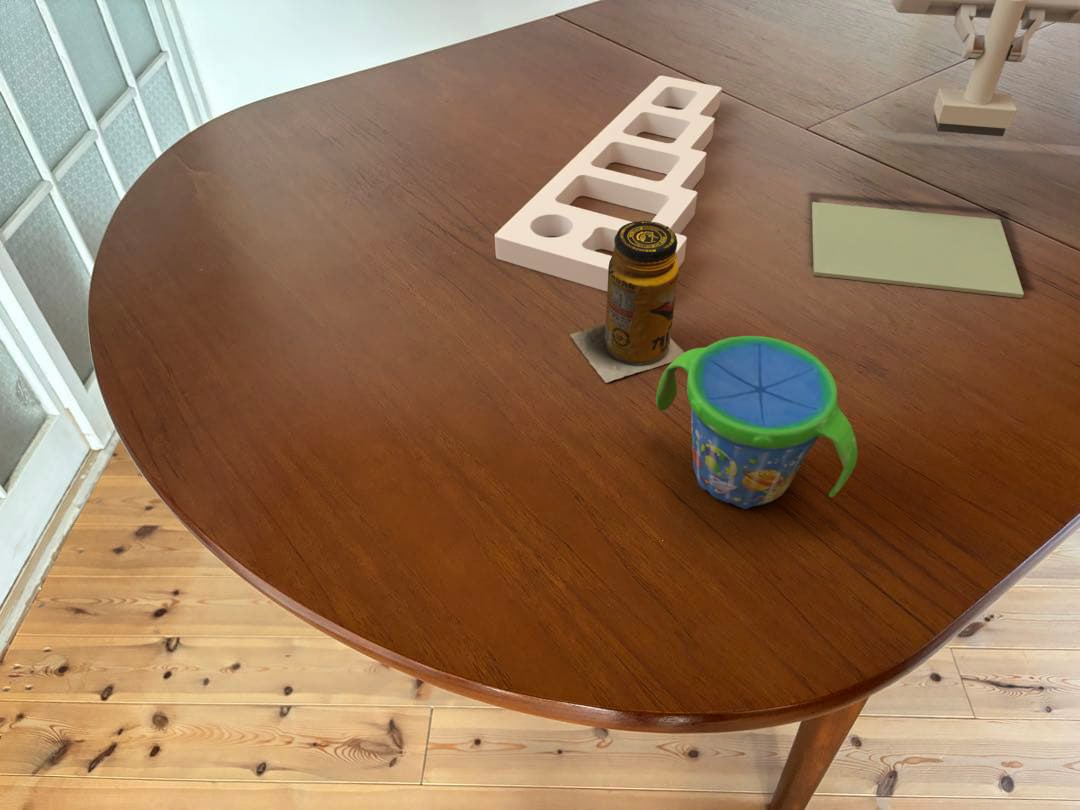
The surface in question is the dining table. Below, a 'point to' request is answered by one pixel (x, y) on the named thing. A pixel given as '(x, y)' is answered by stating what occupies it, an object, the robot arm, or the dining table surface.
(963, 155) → the dining table surface
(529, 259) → the holder
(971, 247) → the mat
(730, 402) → the snack cup
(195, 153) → the dining table surface
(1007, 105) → the brush
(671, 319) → the condiment
